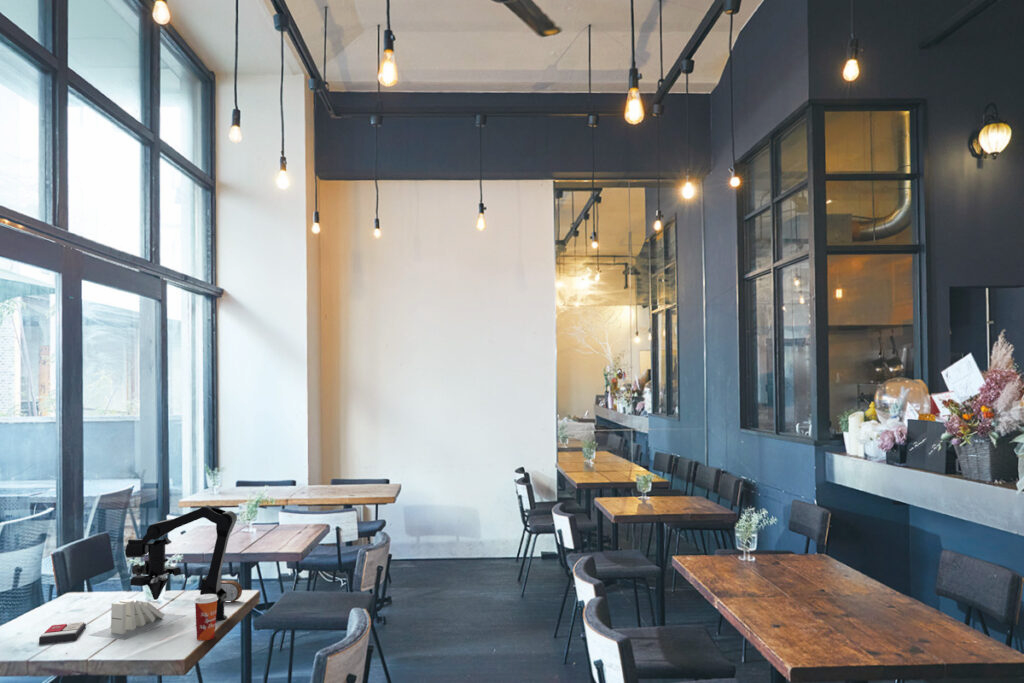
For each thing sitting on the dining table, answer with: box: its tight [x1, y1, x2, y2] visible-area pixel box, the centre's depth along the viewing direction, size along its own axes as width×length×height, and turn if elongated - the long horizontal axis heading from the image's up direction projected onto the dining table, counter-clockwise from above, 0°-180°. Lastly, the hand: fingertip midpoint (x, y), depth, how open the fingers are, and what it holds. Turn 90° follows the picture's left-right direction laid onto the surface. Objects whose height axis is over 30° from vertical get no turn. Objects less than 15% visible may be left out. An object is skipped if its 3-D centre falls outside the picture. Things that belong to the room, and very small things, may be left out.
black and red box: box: [38, 621, 87, 646], centre depth 250 cm, size 11×4×15 cm
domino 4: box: [138, 600, 155, 623], centre depth 262 cm, size 2×5×10 cm
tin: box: [221, 579, 243, 603], centre depth 294 cm, size 15×3×8 cm, turn 84°
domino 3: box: [125, 598, 146, 626], centre depth 259 cm, size 2×5×10 cm, turn 71°
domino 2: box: [118, 599, 136, 630], centre depth 256 cm, size 2×5×10 cm, turn 71°
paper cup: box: [193, 594, 218, 642], centre depth 249 cm, size 8×8×14 cm
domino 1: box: [110, 601, 126, 634], centre depth 253 cm, size 2×5×10 cm, turn 71°
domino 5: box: [142, 601, 164, 619], centre depth 266 cm, size 2×5×10 cm
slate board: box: [89, 612, 186, 641], centre depth 261 cm, size 28×16×1 cm, turn 161°
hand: (155, 599), depth 268 cm, fingers closed
